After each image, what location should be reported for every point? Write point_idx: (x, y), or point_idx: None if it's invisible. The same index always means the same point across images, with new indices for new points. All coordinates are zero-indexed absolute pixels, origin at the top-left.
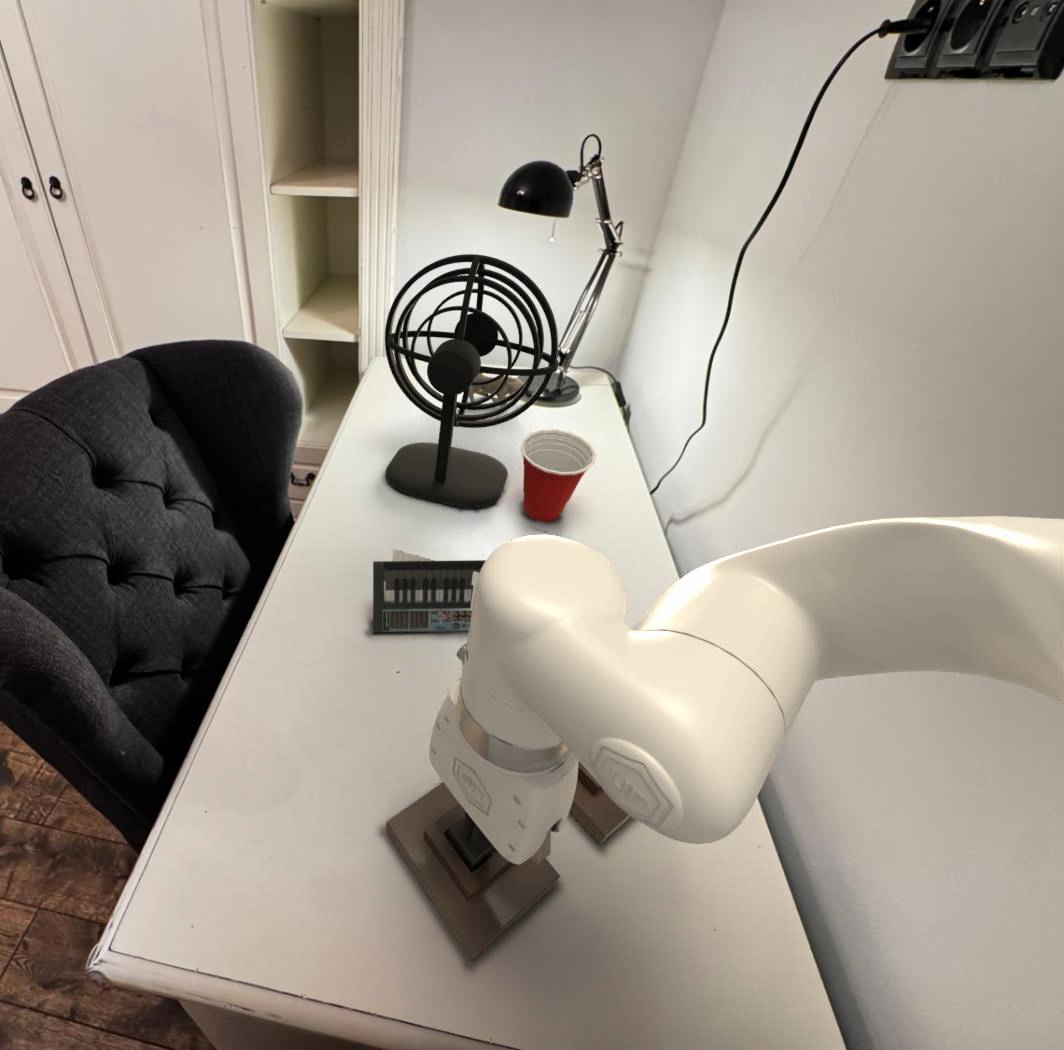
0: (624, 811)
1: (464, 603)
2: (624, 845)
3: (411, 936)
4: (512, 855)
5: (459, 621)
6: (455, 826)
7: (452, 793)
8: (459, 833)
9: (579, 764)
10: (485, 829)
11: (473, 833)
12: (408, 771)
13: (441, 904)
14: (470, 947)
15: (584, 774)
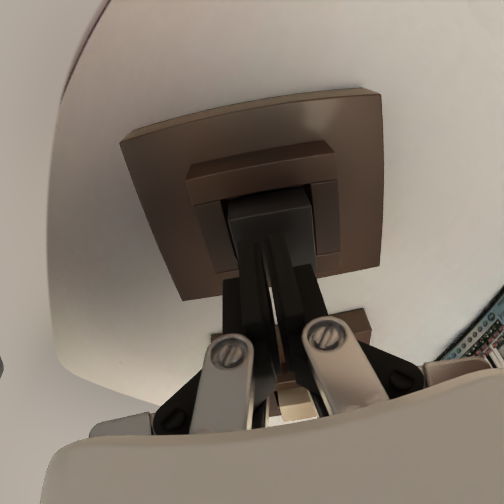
0: None
1: (502, 343)
2: (202, 350)
3: (193, 53)
4: (50, 499)
5: (492, 323)
6: (307, 218)
7: (386, 415)
8: (290, 219)
9: (290, 383)
10: (160, 492)
11: (255, 285)
12: (419, 172)
13: (203, 118)
14: (127, 140)
15: (277, 380)
